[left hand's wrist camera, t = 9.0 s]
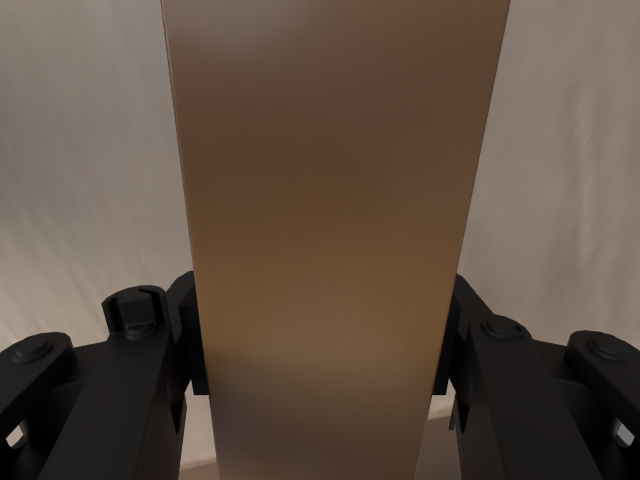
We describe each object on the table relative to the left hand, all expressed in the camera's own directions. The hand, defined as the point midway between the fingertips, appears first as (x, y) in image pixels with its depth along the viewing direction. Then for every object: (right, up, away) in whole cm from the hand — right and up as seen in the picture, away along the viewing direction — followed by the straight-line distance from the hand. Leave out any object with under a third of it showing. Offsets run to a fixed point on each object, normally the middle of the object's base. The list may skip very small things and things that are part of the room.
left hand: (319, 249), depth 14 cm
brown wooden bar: (+1, +20, -7) cm, 21 cm away
